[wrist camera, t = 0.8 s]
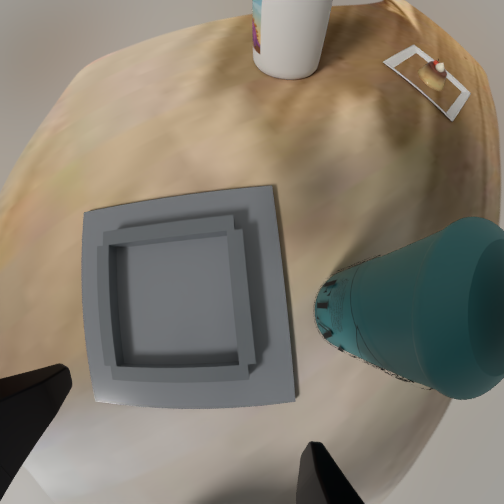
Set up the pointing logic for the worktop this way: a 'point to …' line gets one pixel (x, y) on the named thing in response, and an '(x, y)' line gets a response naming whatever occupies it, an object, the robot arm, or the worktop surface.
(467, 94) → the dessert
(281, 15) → the milk bottle
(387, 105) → the worktop surface
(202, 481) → the worktop surface
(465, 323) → the beverage bottle
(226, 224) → the grey square base plate
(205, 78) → the worktop surface
